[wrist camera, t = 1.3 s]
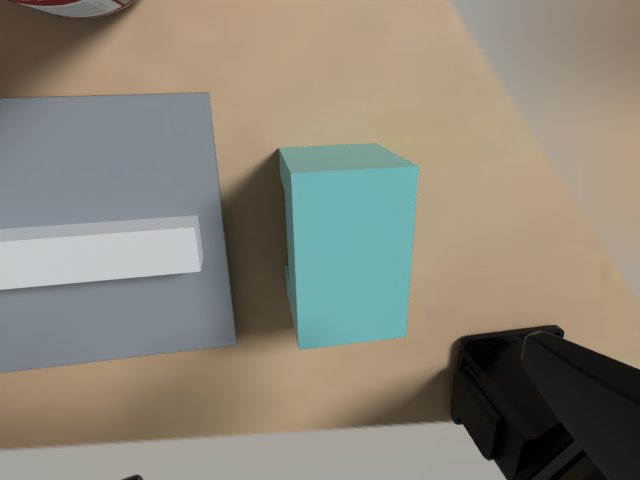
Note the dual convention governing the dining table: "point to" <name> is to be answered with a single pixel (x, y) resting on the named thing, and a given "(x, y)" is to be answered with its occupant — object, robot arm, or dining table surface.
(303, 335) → the block
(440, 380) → the dining table surface
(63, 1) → the soda can
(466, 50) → the dining table surface
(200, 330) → the board
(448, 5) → the dining table surface
